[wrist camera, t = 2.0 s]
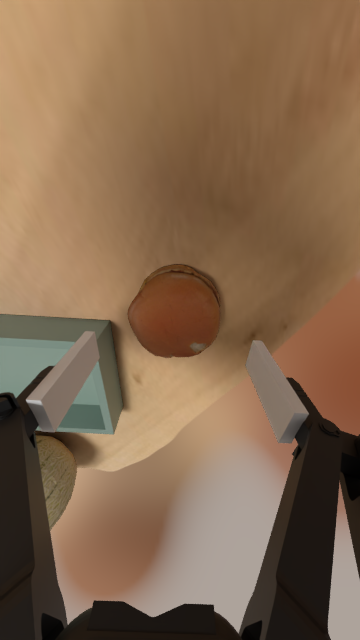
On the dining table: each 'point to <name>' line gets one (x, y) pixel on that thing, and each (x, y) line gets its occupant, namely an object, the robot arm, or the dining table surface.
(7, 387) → the teal tray
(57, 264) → the dining table surface
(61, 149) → the dining table surface
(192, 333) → the burger
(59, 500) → the cantaloupe
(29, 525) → the robot arm
